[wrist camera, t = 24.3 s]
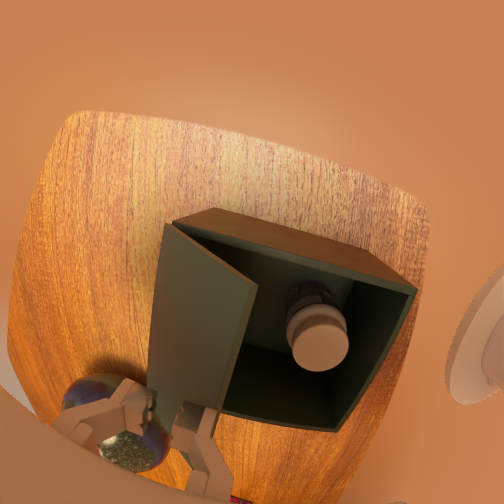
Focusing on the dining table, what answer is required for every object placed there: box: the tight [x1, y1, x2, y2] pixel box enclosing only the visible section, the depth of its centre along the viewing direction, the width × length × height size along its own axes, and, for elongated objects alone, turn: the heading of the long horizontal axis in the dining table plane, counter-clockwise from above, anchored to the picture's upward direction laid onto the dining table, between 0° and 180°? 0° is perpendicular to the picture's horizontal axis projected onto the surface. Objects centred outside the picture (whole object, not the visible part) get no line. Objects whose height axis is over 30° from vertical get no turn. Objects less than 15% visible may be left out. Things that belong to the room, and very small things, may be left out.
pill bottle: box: [285, 280, 349, 371], centre depth 21 cm, size 5×5×8 cm
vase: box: [62, 372, 171, 473], centre depth 25 cm, size 15×15×13 cm
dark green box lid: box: [147, 223, 258, 470], centre depth 13 cm, size 7×13×1 cm
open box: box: [172, 208, 418, 433], centre depth 21 cm, size 15×13×10 cm
